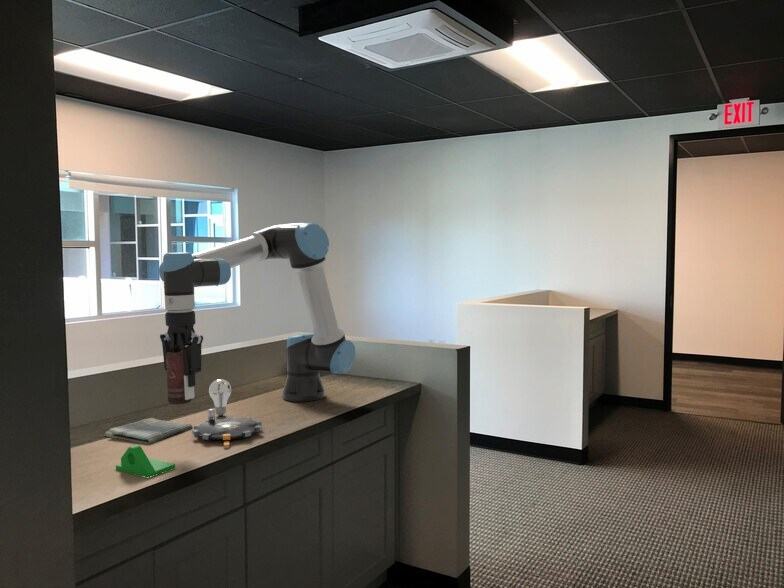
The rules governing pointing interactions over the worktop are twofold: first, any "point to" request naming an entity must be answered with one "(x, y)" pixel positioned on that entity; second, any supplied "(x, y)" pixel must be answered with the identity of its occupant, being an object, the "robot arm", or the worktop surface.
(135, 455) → the bracket
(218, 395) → the light bulb
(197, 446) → the worktop surface
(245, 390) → the worktop surface
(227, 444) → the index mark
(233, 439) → the sprocket base
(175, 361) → the can
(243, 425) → the sprocket
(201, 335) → the robot arm
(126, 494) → the worktop surface
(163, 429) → the dish towel
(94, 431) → the worktop surface
